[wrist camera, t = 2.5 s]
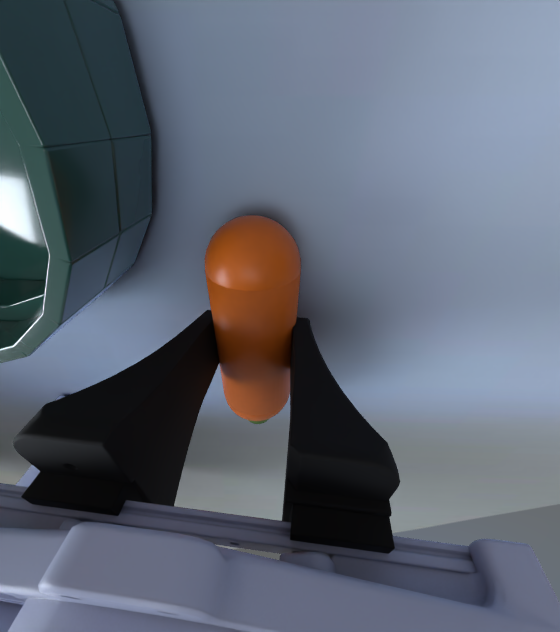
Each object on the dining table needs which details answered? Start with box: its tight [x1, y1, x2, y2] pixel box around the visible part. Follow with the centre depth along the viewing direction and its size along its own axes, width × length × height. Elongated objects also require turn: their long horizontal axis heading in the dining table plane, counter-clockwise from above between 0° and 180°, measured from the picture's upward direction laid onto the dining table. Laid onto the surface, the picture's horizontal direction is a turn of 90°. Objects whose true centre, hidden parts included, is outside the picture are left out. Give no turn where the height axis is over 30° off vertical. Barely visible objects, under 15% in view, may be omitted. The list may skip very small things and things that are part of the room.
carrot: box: [205, 215, 301, 424], centre depth 12 cm, size 12×4×4 cm, turn 178°
